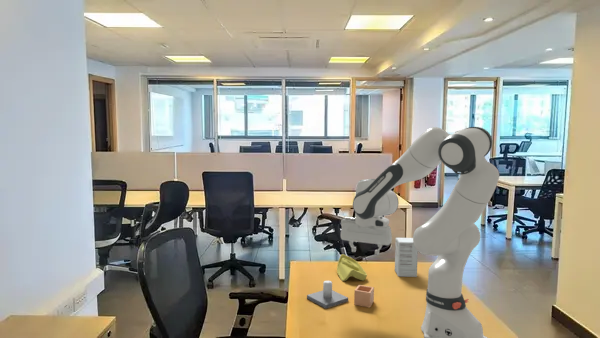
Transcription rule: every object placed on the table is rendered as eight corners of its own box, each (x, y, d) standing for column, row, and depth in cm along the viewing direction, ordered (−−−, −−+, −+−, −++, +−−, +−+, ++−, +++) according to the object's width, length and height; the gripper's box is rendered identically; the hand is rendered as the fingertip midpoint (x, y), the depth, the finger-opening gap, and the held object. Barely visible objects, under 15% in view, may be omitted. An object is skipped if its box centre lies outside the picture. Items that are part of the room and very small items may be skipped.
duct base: (348, 301, 171) (348, 283, 171) (325, 308, 164) (326, 290, 164) (328, 292, 181) (329, 275, 180) (306, 298, 174) (307, 280, 173)
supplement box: (417, 277, 201) (418, 242, 199) (397, 276, 201) (399, 242, 199) (412, 270, 210) (414, 237, 208) (394, 270, 210) (395, 237, 209)
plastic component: (368, 276, 194) (350, 268, 192) (361, 290, 195) (342, 282, 193) (356, 260, 214) (339, 252, 211) (349, 272, 214) (332, 265, 212)
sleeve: (373, 301, 172) (374, 287, 171) (369, 307, 166) (370, 292, 165) (358, 298, 174) (358, 284, 174) (354, 304, 168) (354, 290, 168)
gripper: (338, 218, 168) (337, 251, 169) (390, 223, 160) (388, 258, 161) (343, 215, 173) (342, 247, 175) (393, 220, 166) (392, 254, 167)
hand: (365, 253), depth 168 cm, fingers open, 8 cm apart
